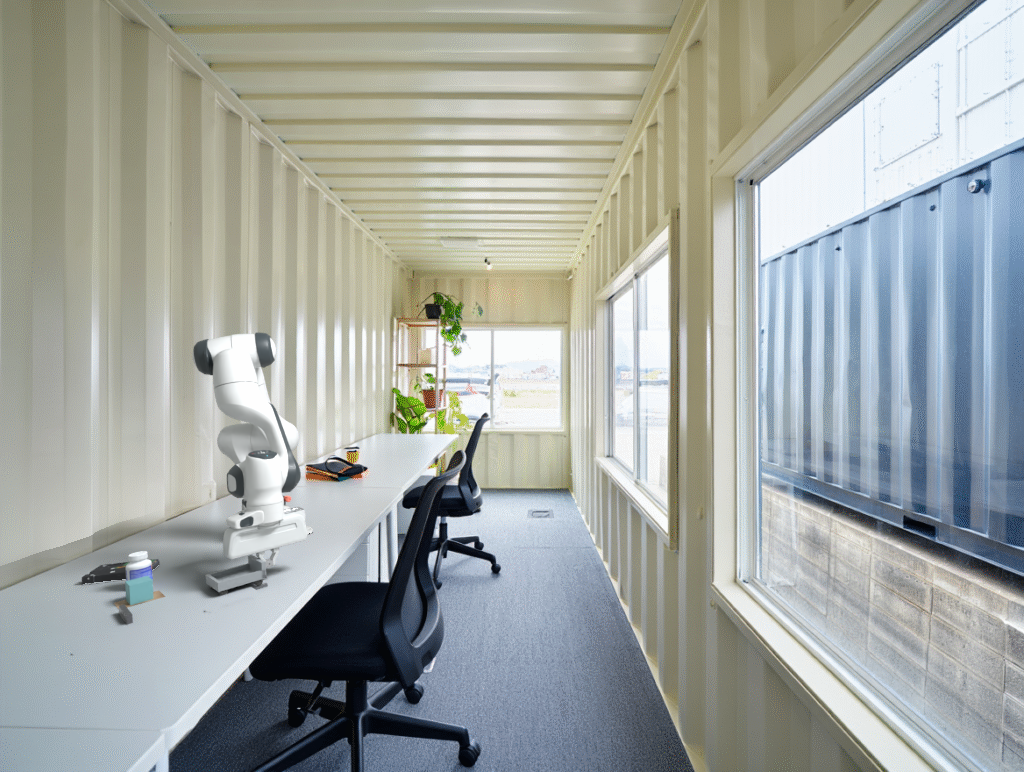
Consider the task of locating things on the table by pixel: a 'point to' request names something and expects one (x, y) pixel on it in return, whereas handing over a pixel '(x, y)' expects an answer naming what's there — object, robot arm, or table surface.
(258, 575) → the grey sliding tray
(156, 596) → the pad
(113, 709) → the table surface
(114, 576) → the disk drive
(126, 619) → the rails
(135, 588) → the block
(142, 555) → the pill bottle
